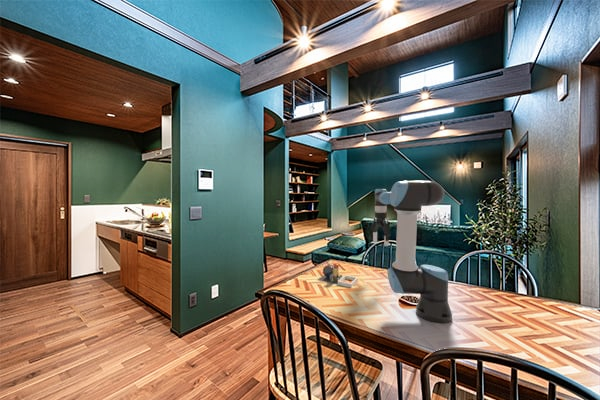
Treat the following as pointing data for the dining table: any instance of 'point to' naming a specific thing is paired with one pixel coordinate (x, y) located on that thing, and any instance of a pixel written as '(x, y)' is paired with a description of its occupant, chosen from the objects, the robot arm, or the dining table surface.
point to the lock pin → (335, 272)
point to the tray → (346, 282)
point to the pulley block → (328, 275)
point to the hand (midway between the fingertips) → (380, 243)
